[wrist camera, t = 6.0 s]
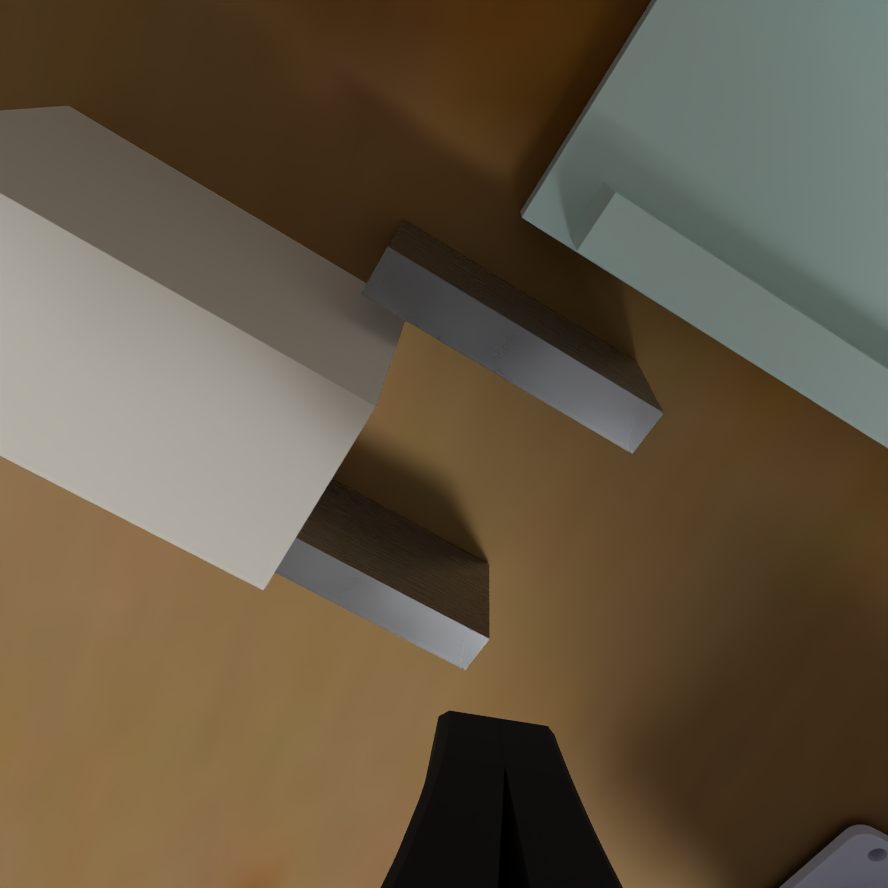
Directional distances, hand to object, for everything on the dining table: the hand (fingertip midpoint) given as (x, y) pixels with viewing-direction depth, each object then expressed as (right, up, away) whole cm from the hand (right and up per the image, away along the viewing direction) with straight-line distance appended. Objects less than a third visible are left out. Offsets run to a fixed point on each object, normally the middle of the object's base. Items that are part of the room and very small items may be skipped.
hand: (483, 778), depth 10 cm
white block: (-6, +8, +8) cm, 12 cm away
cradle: (+8, +9, +6) cm, 14 cm away
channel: (-1, +5, +9) cm, 10 cm away
